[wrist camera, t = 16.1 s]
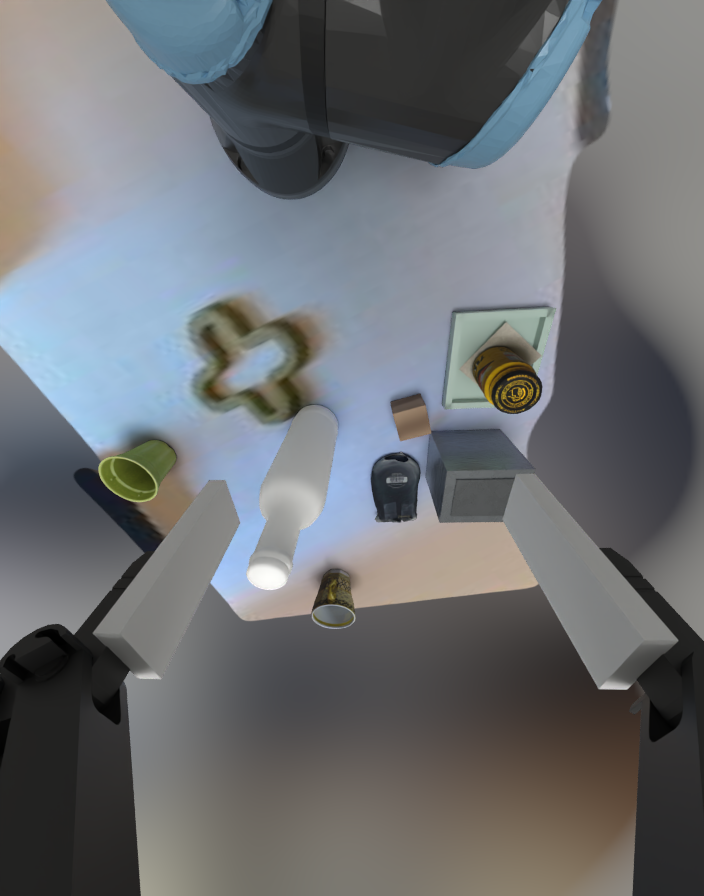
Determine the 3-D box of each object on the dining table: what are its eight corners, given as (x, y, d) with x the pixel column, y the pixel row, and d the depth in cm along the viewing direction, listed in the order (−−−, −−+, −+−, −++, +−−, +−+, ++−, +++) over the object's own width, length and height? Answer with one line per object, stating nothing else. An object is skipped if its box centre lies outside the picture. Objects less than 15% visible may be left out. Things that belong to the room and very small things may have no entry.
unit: (430, 431, 50) (447, 471, 40) (500, 429, 49) (536, 470, 39) (425, 478, 55) (439, 525, 45) (488, 477, 55) (517, 524, 44)
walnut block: (390, 401, 48) (392, 414, 43) (419, 393, 47) (425, 405, 42) (397, 427, 50) (400, 441, 46) (425, 419, 49) (431, 433, 45)
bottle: (302, 447, 53) (243, 609, 27) (287, 409, 49) (202, 555, 23) (343, 439, 52) (323, 600, 26) (332, 399, 48) (294, 542, 22)
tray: (452, 312, 40) (456, 313, 38) (547, 306, 39) (556, 308, 38) (441, 404, 47) (444, 409, 46) (522, 401, 47) (528, 406, 45)
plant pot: (141, 469, 57) (108, 498, 49) (129, 428, 52) (89, 453, 45) (188, 475, 57) (162, 505, 50) (180, 435, 52) (150, 461, 45)
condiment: (458, 368, 44) (473, 397, 34) (506, 321, 39) (538, 338, 29) (491, 397, 45) (515, 433, 35) (541, 355, 41) (583, 381, 31)
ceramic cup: (357, 588, 75) (356, 628, 66) (320, 589, 76) (314, 629, 67) (353, 556, 68) (352, 596, 60) (312, 557, 69) (305, 597, 60)
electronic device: (419, 504, 61) (420, 450, 52) (419, 525, 57) (421, 472, 48) (376, 502, 63) (369, 451, 54) (373, 523, 59) (366, 471, 50)
